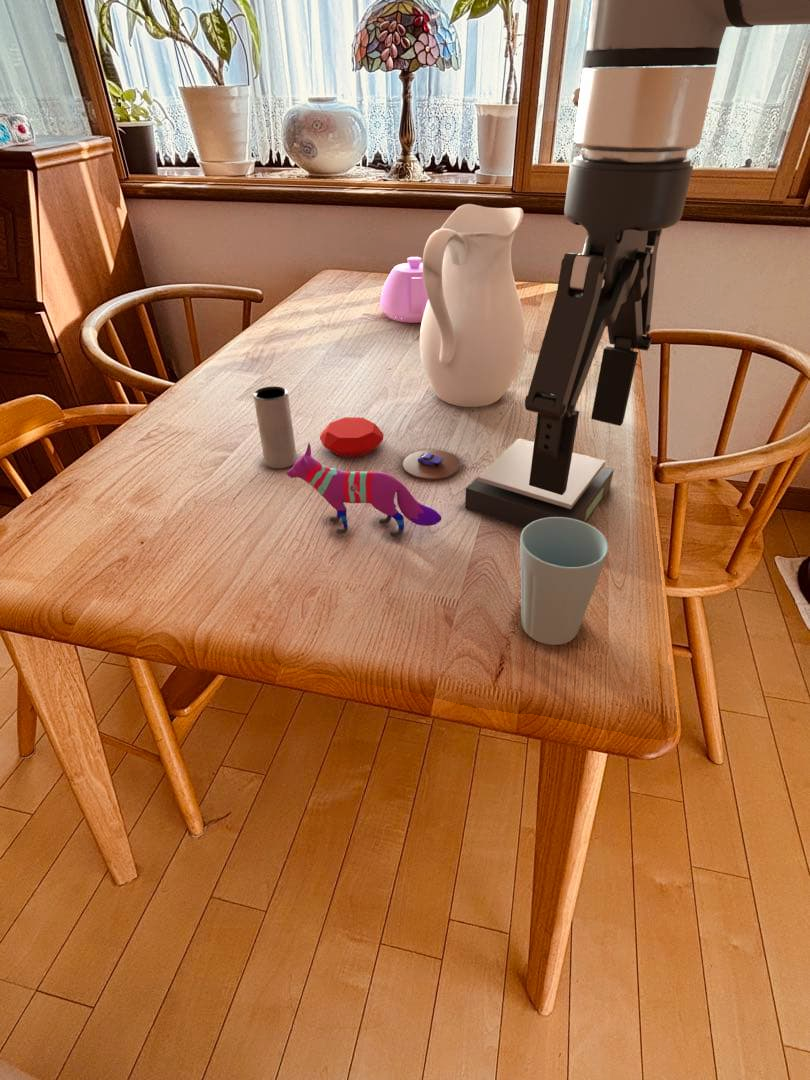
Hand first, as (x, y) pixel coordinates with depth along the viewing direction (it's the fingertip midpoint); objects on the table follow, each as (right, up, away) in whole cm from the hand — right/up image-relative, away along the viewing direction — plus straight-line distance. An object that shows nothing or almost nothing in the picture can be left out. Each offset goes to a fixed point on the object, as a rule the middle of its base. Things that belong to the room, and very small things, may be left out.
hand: (579, 452), depth 52 cm
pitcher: (-5, +16, +52) cm, 55 cm away
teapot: (-12, +44, +91) cm, 102 cm away
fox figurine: (-19, -6, +23) cm, 31 cm away
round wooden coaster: (-11, +3, +35) cm, 37 cm away
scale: (+3, -2, +28) cm, 28 cm away
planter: (-32, +4, +37) cm, 49 cm away
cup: (0, -16, +10) cm, 19 cm away
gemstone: (-22, +6, +40) cm, 46 cm away
